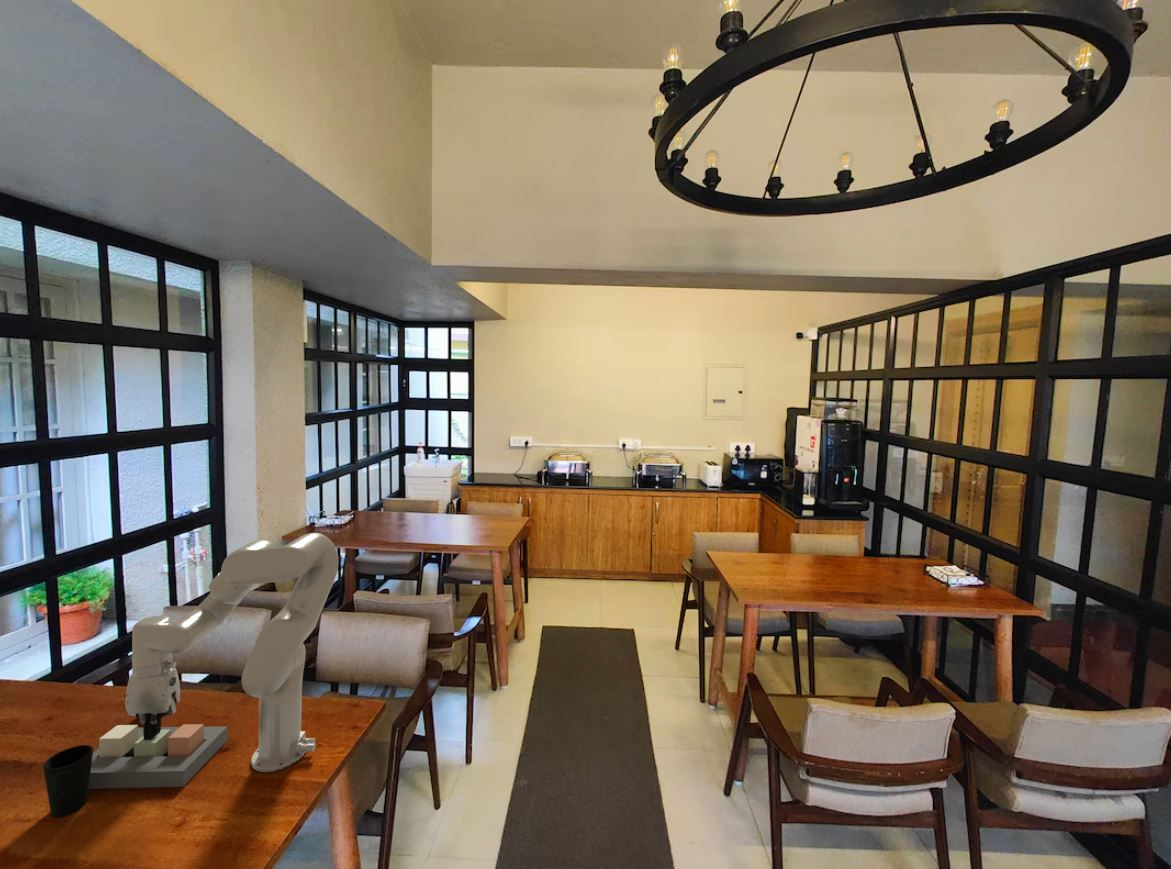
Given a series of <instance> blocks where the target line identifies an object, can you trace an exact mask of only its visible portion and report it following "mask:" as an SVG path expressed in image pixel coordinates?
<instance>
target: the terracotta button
mask: <svg viewBox="0 0 1171 869" xmlns="http://www.w3.org/2000/svg"><path fill="white" fill-rule="evenodd" d="M204 725H205V724H203V723H201V724H200V723H199V724H198V723H196V724H194V723H193V724H191V723H189V724H185V723H184V724H182V725H181V726H179V727H180V728H179V729H178V730H176V731H175V732H174V733H173V734H172V735H171V736H170V737H169V738H168V754H167V756H190V755H191V754H192V753H193V752H194V751H195V750H196V749H197V748H198V747H199V746H200V745H201V744H202V743H204V727H205V726H204Z"/></svg>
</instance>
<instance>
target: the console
mask: <svg viewBox="0 0 1171 869" xmlns="http://www.w3.org/2000/svg"><path fill="white" fill-rule="evenodd" d="M180 727H181V726H166V727H165V726H161V730H171V735H172V734H173V733H174V732H175V731H176V730H178V729H179V728H180ZM228 727H229V726H223V725H222V726H220V725H219V726H204V743H202V744H201V745H200V746H199V747H198V748H197V749H196V750H195V751H194V752H193V753H192V754H191V755H190V756H168V751H167V752H166V753H165V754H164V755H166V756H164V755H163V756H155V757H134V747H133V748H132V749H131V750H130V751H128V752H127V753H126V754H125V755H124V756H122V757H99V748H97V749H96V750H94V751H93V756H92V765H91V773H90V781H89V789H88V790H96V789H97V790H99V789H101V790H102V789H105V790H106V789H135V788H136V789H137V788H138V789H139V788H141V789H142V788H144V789H145V788H149V789H150V788H180V787H181V788H183V787H185V786H186V785H187V783H189V781H190V780H191V779H192V778H193V777H194V776H195V775H196V774H198V772H199V771H200V770H201V769H202V768H203V766H205V765H206V764H207V763H208V761H210V759H211V758H212V757H214V755H215V754H216V753H217V752H218V751H219V750H220V749H221V748H222V747H223V745H225V743H226V742H228V738H229V736H228V735H229V734H228V731H229V728H228ZM142 736H144V734H143V726H142V727H138V740H139V739H140V738H141V737H142Z"/></svg>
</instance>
